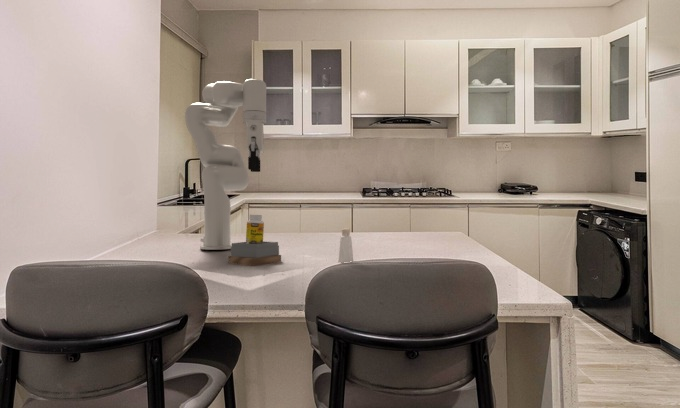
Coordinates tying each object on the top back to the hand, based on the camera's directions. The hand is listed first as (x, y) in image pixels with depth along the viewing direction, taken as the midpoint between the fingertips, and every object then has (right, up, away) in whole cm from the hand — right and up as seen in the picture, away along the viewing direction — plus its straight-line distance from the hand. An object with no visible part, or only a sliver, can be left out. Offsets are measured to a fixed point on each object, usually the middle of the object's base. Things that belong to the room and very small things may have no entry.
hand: (254, 170), depth 151 cm
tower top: (0, -28, 0) cm, 28 cm away
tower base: (0, -31, 0) cm, 31 cm away
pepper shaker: (+30, -30, 0) cm, 43 cm away
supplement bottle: (0, -25, 0) cm, 25 cm away
